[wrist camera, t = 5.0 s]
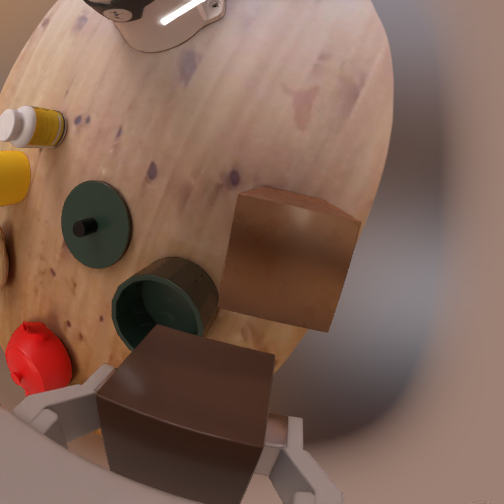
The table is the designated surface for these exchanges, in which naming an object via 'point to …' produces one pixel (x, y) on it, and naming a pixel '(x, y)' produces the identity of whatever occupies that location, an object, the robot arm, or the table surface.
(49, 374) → the teapot
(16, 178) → the yellow cylinder with hole
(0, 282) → the oil lamp
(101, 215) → the tin lid
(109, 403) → the block
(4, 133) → the pill bottle
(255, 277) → the stand
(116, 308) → the tin
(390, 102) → the table surface
